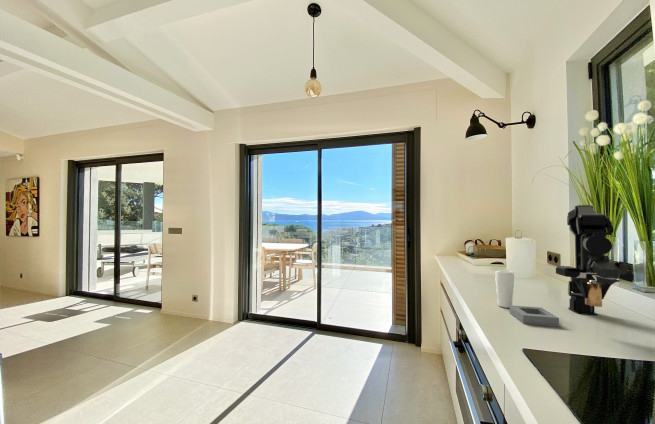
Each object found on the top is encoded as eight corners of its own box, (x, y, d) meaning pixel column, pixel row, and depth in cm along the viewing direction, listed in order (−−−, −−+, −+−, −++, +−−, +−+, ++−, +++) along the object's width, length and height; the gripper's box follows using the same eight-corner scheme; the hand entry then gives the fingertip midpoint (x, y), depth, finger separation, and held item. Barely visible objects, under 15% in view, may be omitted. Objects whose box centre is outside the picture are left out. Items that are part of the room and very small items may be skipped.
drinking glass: (517, 309, 110) (517, 273, 110) (499, 308, 111) (499, 272, 111) (509, 304, 116) (509, 270, 117) (492, 303, 118) (492, 269, 118)
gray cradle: (541, 315, 103) (541, 307, 103) (559, 326, 93) (559, 317, 93) (509, 312, 106) (509, 305, 106) (523, 323, 95) (523, 315, 95)
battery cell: (596, 303, 90) (595, 279, 90) (605, 307, 86) (605, 282, 86) (582, 302, 91) (581, 279, 91) (590, 306, 87) (590, 281, 87)
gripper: (576, 253, 83) (576, 303, 83) (650, 256, 79) (651, 309, 79) (554, 249, 94) (554, 294, 94) (619, 251, 90) (619, 298, 89)
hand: (593, 298), depth 88 cm, fingers closed on battery cell, 4 cm apart
